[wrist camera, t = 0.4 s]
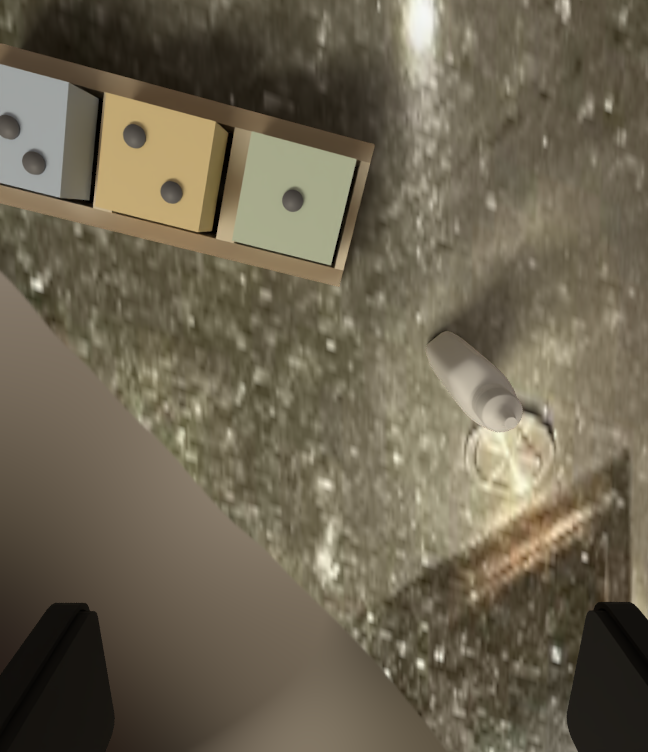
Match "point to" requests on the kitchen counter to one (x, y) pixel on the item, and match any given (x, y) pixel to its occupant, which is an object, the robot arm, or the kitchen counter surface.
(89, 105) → the tile three blue
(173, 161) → the tile two ochre
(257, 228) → the tile one sage
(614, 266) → the kitchen counter surface
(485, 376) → the eye dropper bottle
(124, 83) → the tray
